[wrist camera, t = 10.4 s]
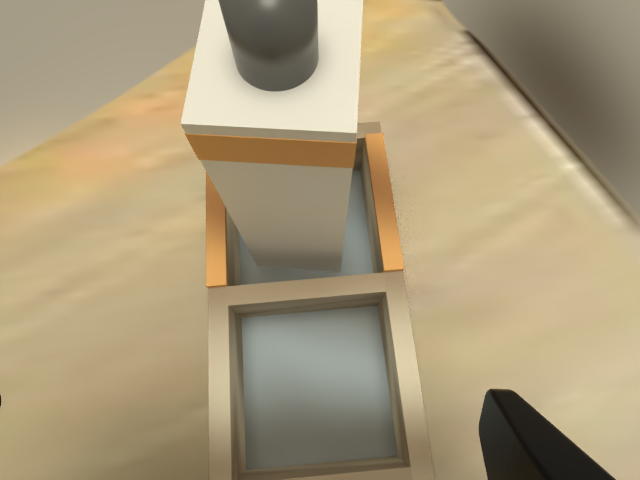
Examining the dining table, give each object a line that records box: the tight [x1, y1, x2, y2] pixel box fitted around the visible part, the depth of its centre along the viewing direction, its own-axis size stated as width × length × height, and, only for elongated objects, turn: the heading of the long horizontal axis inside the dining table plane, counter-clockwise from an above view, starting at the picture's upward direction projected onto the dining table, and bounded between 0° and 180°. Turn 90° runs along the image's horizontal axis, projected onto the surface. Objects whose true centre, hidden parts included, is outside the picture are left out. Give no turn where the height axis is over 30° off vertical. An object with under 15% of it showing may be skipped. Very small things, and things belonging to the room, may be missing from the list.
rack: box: [206, 122, 435, 480], centre depth 20 cm, size 16×9×4 cm, turn 5°
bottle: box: [181, 0, 363, 272], centre depth 15 cm, size 4×4×14 cm
